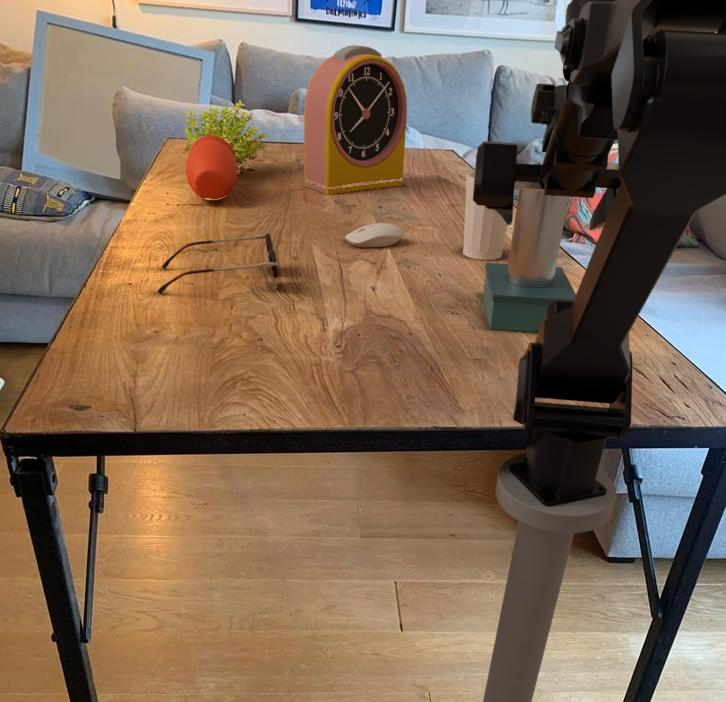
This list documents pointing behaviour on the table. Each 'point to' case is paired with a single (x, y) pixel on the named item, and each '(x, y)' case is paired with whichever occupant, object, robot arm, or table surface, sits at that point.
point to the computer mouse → (375, 235)
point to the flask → (536, 238)
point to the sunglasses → (271, 258)
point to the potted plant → (218, 151)
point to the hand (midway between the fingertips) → (549, 223)
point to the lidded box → (520, 299)
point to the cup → (482, 228)
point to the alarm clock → (354, 122)
